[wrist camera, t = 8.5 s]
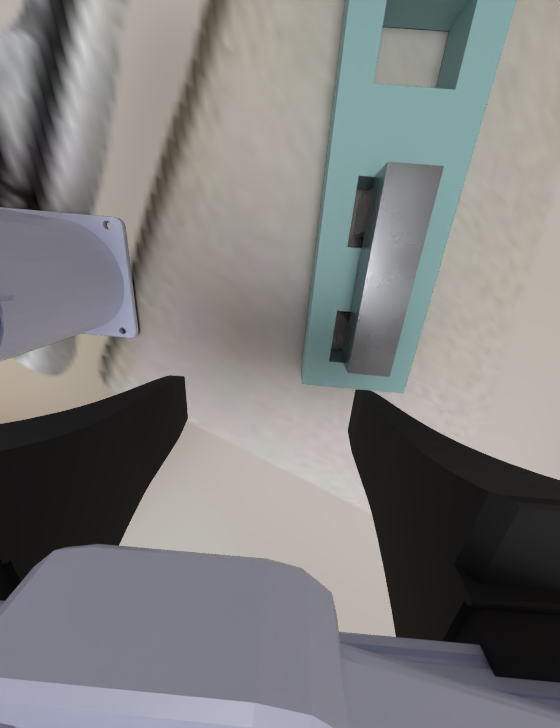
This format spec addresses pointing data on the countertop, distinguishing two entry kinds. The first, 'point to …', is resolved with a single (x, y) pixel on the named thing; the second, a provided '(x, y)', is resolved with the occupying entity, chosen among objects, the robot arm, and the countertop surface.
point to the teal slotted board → (396, 159)
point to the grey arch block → (387, 264)
